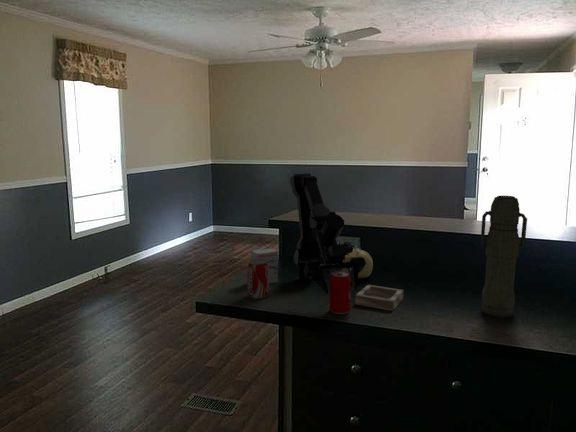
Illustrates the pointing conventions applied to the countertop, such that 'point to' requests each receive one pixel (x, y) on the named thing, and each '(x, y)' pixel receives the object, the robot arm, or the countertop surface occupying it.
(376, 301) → the can holder
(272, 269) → the ink box
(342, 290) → the beverage can
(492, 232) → the thermos
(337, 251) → the robot arm
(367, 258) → the sculpture
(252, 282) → the soda can
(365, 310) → the countertop surface
